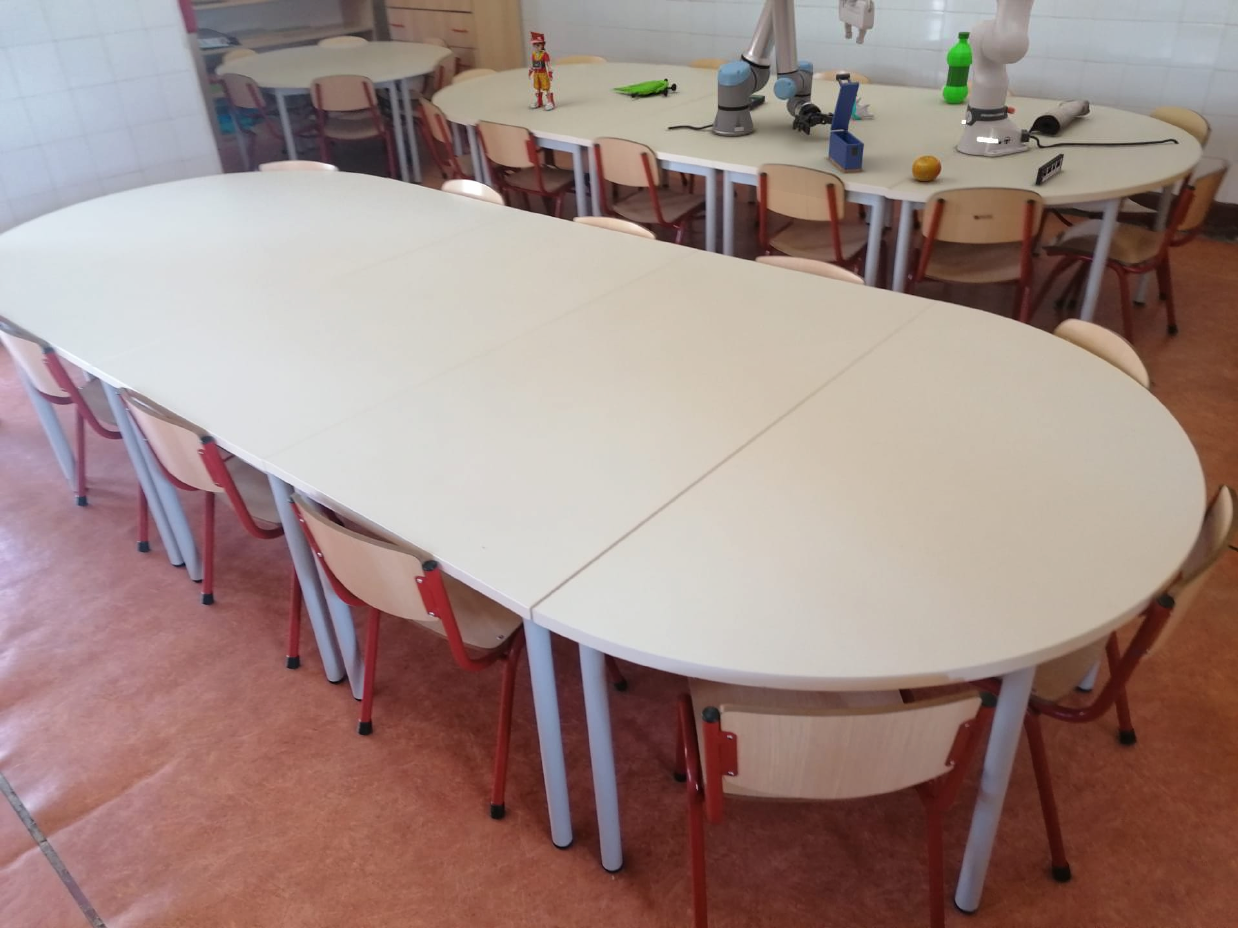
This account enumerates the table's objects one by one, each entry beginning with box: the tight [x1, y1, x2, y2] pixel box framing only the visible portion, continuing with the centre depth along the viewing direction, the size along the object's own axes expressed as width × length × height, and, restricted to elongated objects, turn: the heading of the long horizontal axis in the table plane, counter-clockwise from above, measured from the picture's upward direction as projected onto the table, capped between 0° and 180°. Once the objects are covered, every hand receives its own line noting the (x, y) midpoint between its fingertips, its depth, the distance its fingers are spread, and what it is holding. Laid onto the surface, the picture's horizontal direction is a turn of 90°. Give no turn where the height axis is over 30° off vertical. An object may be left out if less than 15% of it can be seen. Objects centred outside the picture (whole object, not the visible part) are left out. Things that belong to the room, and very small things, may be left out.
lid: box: [829, 72, 860, 132], centre depth 292 cm, size 17×6×9 cm
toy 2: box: [612, 78, 677, 99], centre depth 396 cm, size 28×5×30 cm
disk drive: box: [749, 94, 766, 111], centre depth 366 cm, size 10×3×15 cm
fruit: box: [911, 155, 942, 182], centre depth 277 cm, size 8×8×8 cm
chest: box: [827, 130, 865, 174], centre depth 294 cm, size 17×6×9 cm, turn 7°
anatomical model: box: [851, 95, 875, 120], centre depth 344 cm, size 15×10×10 cm
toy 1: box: [527, 31, 556, 111], centre depth 374 cm, size 12×9×30 cm
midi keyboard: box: [1035, 153, 1065, 186], centre depth 273 cm, size 18×1×5 cm, turn 138°
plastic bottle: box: [942, 31, 972, 104], centre depth 348 cm, size 10×10×25 cm
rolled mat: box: [1028, 99, 1091, 137], centre depth 319 cm, size 30×9×10 cm
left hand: (828, 129), depth 307 cm, fingers open, 13 cm apart
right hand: (853, 41), depth 277 cm, fingers open, 8 cm apart
